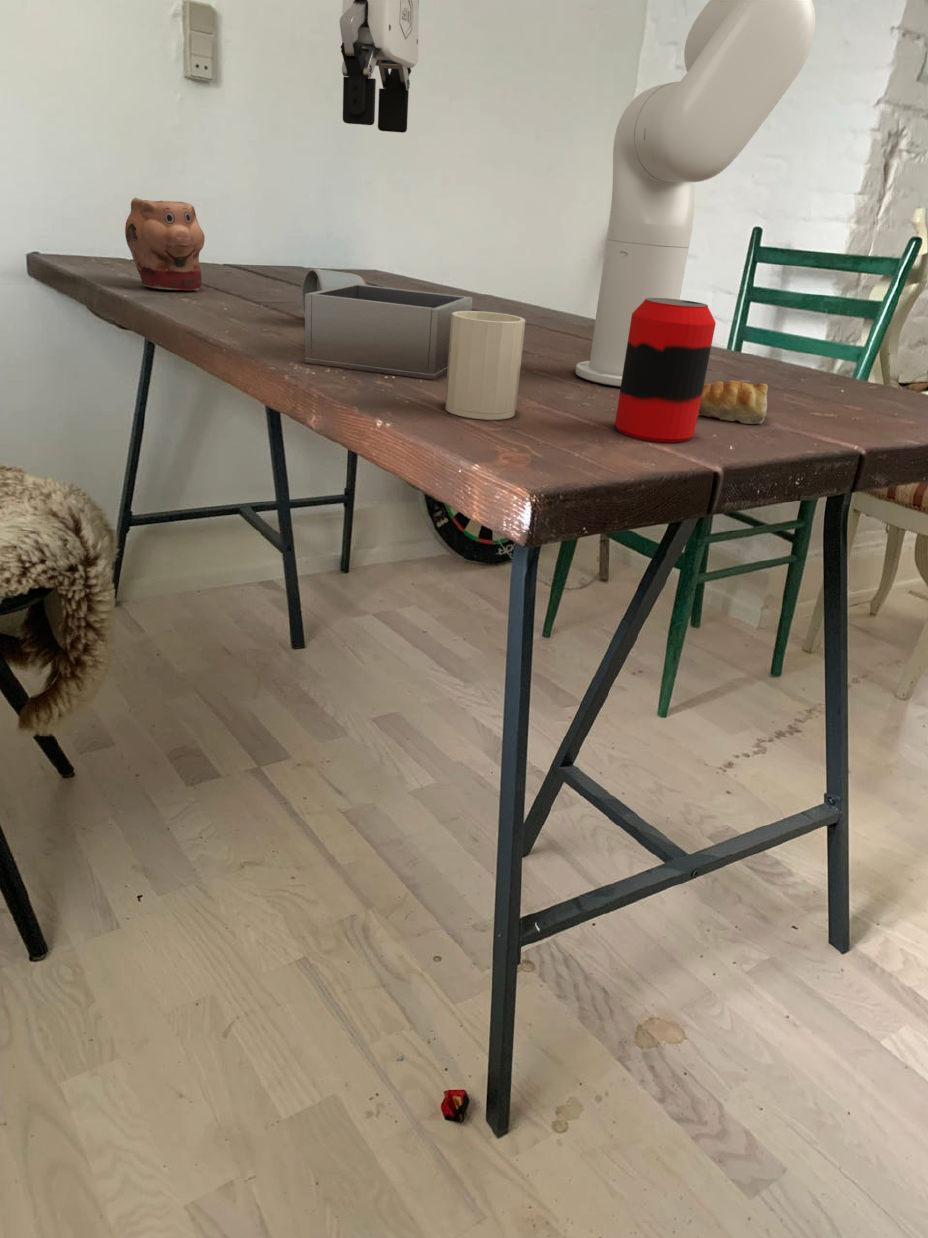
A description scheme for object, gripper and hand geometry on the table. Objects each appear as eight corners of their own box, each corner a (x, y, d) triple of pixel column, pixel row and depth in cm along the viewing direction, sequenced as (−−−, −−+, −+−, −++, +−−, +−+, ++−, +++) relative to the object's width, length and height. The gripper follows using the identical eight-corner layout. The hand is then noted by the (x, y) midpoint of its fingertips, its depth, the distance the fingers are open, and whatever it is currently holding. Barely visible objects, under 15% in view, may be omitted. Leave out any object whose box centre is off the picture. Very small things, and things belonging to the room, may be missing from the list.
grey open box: (467, 359, 116) (472, 297, 112) (434, 380, 102) (438, 309, 98) (352, 345, 118) (353, 283, 115) (304, 362, 105) (305, 293, 101)
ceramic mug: (372, 328, 132) (374, 272, 129) (320, 329, 128) (321, 270, 125) (341, 318, 140) (341, 265, 137) (291, 318, 136) (290, 263, 133)
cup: (520, 409, 92) (530, 316, 88) (506, 423, 86) (517, 324, 82) (455, 400, 93) (462, 308, 89) (437, 413, 87) (443, 315, 83)
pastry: (675, 415, 95) (682, 378, 94) (675, 403, 101) (681, 368, 100) (766, 426, 94) (775, 389, 92) (761, 414, 100) (769, 379, 98)
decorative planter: (109, 280, 159) (101, 192, 153) (175, 280, 166) (171, 197, 160) (157, 295, 146) (151, 200, 140) (226, 295, 153) (224, 205, 147)
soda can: (710, 440, 86) (736, 308, 81) (652, 446, 82) (676, 307, 77) (654, 421, 92) (676, 296, 87) (598, 425, 88) (617, 295, 83)
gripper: (387, -100, 79) (380, 123, 86) (445, -50, 94) (435, 136, 101) (308, -101, 81) (307, 118, 88) (377, -52, 96) (372, 131, 103)
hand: (376, 127), depth 95 cm, fingers open, 9 cm apart
